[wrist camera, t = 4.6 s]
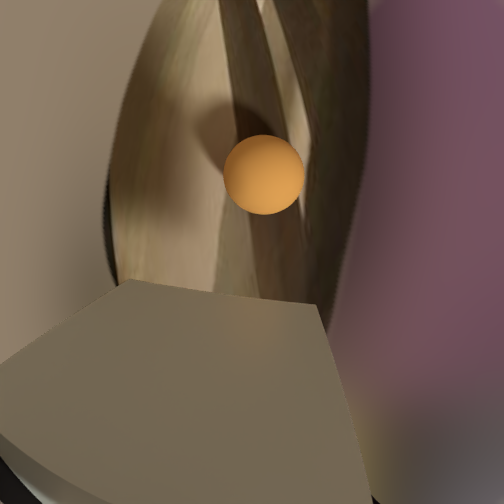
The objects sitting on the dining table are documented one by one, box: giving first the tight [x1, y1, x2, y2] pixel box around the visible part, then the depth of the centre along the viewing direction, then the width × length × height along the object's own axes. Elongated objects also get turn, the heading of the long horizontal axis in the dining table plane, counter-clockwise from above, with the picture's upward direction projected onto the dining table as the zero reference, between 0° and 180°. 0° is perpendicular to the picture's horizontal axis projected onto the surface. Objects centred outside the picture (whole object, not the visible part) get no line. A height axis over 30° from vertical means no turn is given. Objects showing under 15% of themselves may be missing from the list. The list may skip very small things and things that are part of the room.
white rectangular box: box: [0, 279, 373, 504], centre depth 7 cm, size 8×8×9 cm
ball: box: [223, 135, 304, 214], centre depth 17 cm, size 5×5×5 cm
